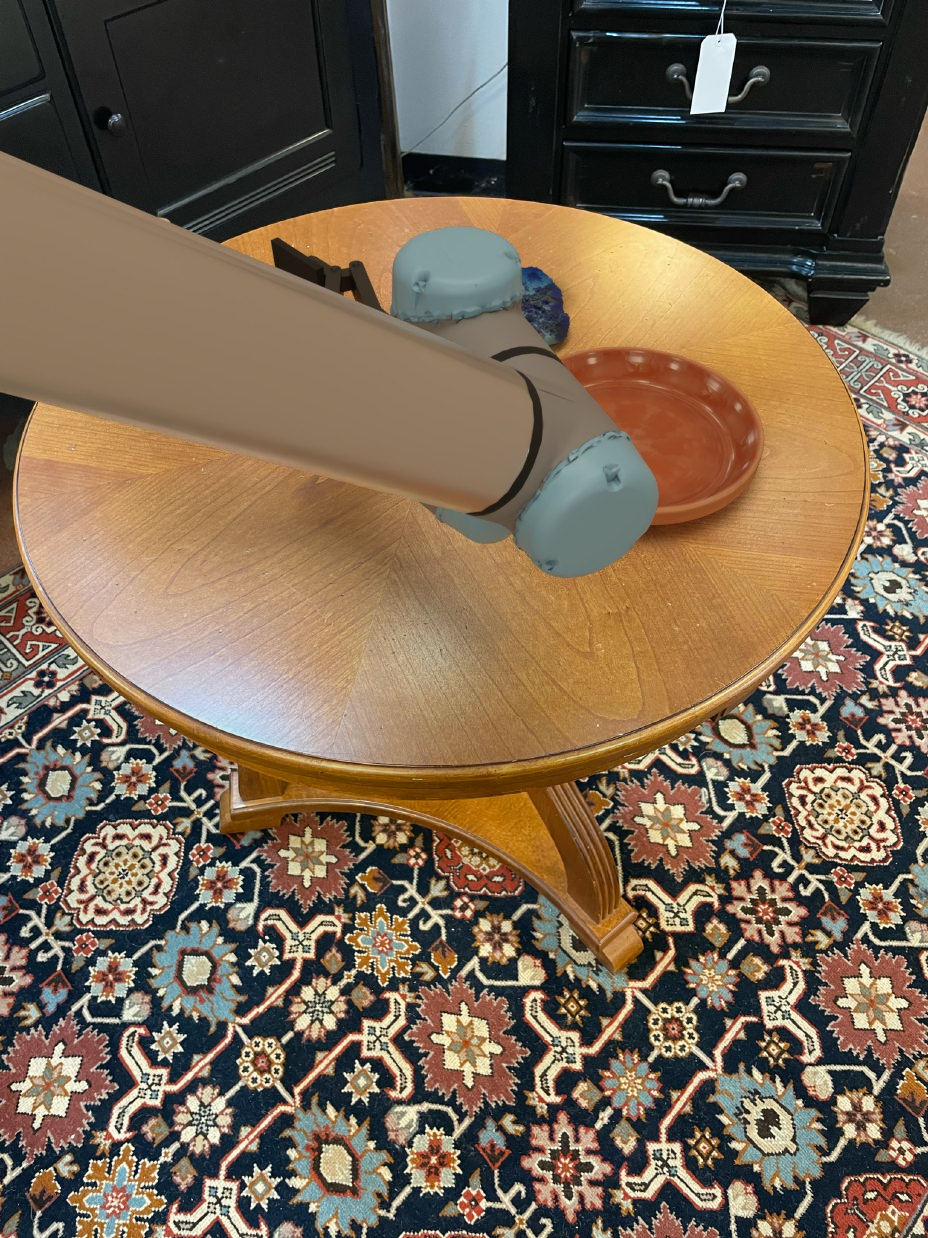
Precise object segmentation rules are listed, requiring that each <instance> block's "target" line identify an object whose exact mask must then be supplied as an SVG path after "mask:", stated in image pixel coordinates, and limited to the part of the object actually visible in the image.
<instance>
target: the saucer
mask: <svg viewBox="0 0 928 1238" xmlns="http://www.w3.org/2000/svg"><path fill="white" fill-rule="evenodd" d="M558 358H559V359H560V360H561V361H562V363H563V364H564V365H565V366H566V368H567V369H568V370H569V371H570V372H571V373H572V375H573V376H574V377H575V378H576V379H577V380H578V381H579V383H580V384H581V385H582V386H583V387H584V388H585V389H586V391H587V392H588V393H589V394H590V395H591V396H592V397H593V399H594V400H595V401H596V402H597V403H598V404H599V405H600V407H601V408H602V409H603V410H604V411H605V412H606V413H607V415H608V416H609V417H610V418H611V419H612V420H613V421H614V423H615V424H616V425H617V426H618V427H619V428H620V430H621V431H624V432H626V433H627V434H628V435H629V436H630V439H631V440H632V441H633V445H634V447H635V448H636V450H637V451H638V452H639V454H640V455H641V457H642V458H643V460H644V461H645V463H646V464H647V465H648V467H649V468H650V470H651V471H652V473H653V475H654V477H655V479H656V482H657V485H658V494H659V497H658V505H657V509H656V513H655V516H654V518H653V520H652V522H651V524H650V526H661V525H662V526H663V525H664V526H665V525H673V524H674V525H675V524H680V523H686V522H689V521H695V520H698V519H700V518H704V517H706V516H709V515H711V514H714V513H716V512H718V511H720V510H721V509H724V508H725V507H727V506H728V505H730V504H731V503H733V502H734V501H735V500H736V499H737V498H739V496H741V494H742V493H744V491H745V490H746V489H747V488H748V487H749V485H750V484H751V482H752V481H753V479H754V477H755V475H756V472H757V471H758V468H759V465H760V463H761V460H762V457H763V453H764V451H765V439H766V438H765V430H764V426H763V422H762V419H761V416H760V414H759V412H758V409H756V407H755V405H754V404H753V402H752V401H751V399H750V398H749V397H748V395H746V393H744V391H743V390H742V389H741V388H740V387H739V386H737V385H736V384H735V383H734V382H733V381H731V380H730V379H729V378H727V377H726V376H724V375H723V374H722V373H720V372H718V371H717V370H715V369H713V368H711V367H709V366H708V365H705V364H703V363H701V362H699V361H696V360H695V359H692V358H689V357H686V356H683V355H679V354H677V353H672V352H669V351H664V350H659V349H653V348H647V347H637V346H605V347H604V346H603V347H595V348H589V349H585V350H584V349H583V350H579V351H576V352H571V353H568V354H566V355H562V356H560V357H558Z"/></svg>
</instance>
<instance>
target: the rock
mask: <svg viewBox="0 0 928 1238" xmlns="http://www.w3.org/2000/svg"><path fill="white" fill-rule="evenodd" d="M521 267H522V285H523V286H524V288H525V292H524V295H523V296H522V301H521V309H522V313H523V315H524V317H525V318H526V320H527V321H528V322H529V323H530V324H531V325H532V326H533V327H534V329H535V330H536V331H537V332H538V333H539V335H540V336H541V337H542V338H543V340H544V341H545V342H546V343H547V344H548V346H552V345H555V344H560V343H563V342H564V340H565V339H567V338H568V333H569V329H570V324H571V322H570V321H571V317H570V315H569V313H567V312H565V311H564V303H565V302H564V300H563V297H564V295H563V293H562V289H561V288H560V287H559V286H558V285H557V284H556V283H555V282H554V279H553V278H552V277H550V276H549V275H548V274H547V273H545V272H544V271H543V270H542V269H541V268H539V267H537V266H532V265H531V266H526V267H524V266H521Z"/></svg>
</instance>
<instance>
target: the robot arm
mask: <svg viewBox="0 0 928 1238" xmlns="http://www.w3.org/2000/svg"><path fill="white" fill-rule="evenodd" d="M160 218H161V217H158V216H155V215H153V214H151V213H148V212H146V211H144V210H141V209H139V208H137V207H134V206H132V205H129V204H127V203H125V202H122V201H120V200H117V199H115V198H113V197H110V196H108V195H106V194H103V193H101V192H98V191H96V190H94V189H92V188H89V187H86V186H84V185H82V184H80V183H77V182H75V181H73V180H70V179H69V178H68V179H67V178H65V177H63V176H61V175H58V174H56V173H53V172H51V171H49V170H46V169H44V168H42V167H40V166H37V165H35V164H32V163H30V162H27V161H25V160H24V159H23V160H22V159H21V158H18V157H16V156H13V155H11V154H9V153H6V152H3V151H2V150H0V393H1V394H6V395H11V396H14V397H17V398H22V399H25V400H29V401H33V402H36V403H41V404H44V405H49V406H52V407H55V408H59V409H63V410H67V411H71V412H74V413H78V414H82V415H87V416H90V417H95V418H96V419H97V418H98V419H101V420H104V421H105V420H106V421H109V422H113V423H116V424H121V425H124V426H129V427H132V428H136V429H139V430H143V431H148V432H150V433H155V434H159V435H162V436H167V437H171V438H174V439H178V440H182V441H185V442H189V443H193V444H197V445H201V446H205V447H208V448H212V449H216V450H220V451H223V452H228V453H231V454H235V455H239V456H242V457H246V458H250V459H254V460H257V461H262V462H265V463H269V464H273V465H276V466H280V467H285V468H288V469H292V470H296V471H299V472H304V473H307V474H310V475H311V474H312V475H315V476H318V477H322V478H326V479H331V480H335V481H338V482H341V483H346V484H350V485H353V486H357V487H361V488H365V489H369V490H372V491H377V492H380V493H383V494H387V495H391V496H395V497H400V498H404V499H407V500H410V501H415V502H418V503H419V504H420V505H422V506H423V507H424V508H425V509H426V510H428V511H429V512H430V513H431V514H433V515H434V516H435V518H436V520H437V521H439V522H440V523H442V524H446V525H447V526H448V527H451V528H452V529H453V530H455V531H456V532H458V533H459V534H461V535H463V537H465V538H467V539H469V540H471V541H472V542H474V543H477V544H480V545H490V544H496V543H498V542H501V541H504V540H506V539H507V538H508V537H509V536H511V535H512V541H513V543H514V544H515V545H514V546H515V547H516V549H518V550H520V551H522V552H524V553H525V554H526V555H527V557H528V558H529V559H530V561H531V562H532V563H533V564H534V565H535V566H536V567H537V568H538V569H539V570H541V572H543V573H545V574H546V575H549V576H551V577H555V578H560V579H574V578H581V577H586V576H589V575H592V574H595V573H597V572H600V571H602V570H604V569H606V568H608V567H609V566H611V565H613V564H615V563H616V562H617V561H619V560H620V559H622V558H623V557H624V556H626V555H627V553H629V552H630V551H631V550H632V549H633V548H634V545H635V544H636V543H637V542H638V540H639V539H640V538H641V537H642V536H643V535H644V534H645V533H646V532H647V531H648V529H649V528H650V526H651V525H650V524H651V522H652V520H653V518H654V516H655V513H656V509H657V505H658V497H659V494H658V485H657V482H656V479H655V477H654V475H653V473H652V471H651V470H650V468H649V467H648V465H647V464H646V463H645V461H644V460H643V458H642V457H641V455H640V454H639V452H638V451H637V450H636V448H635V447H634V445H633V441H632V440H631V439H630V436H629V435H628V434H627V433H626V432H624V431H621V430H620V428H619V427H618V426H617V425H616V424H615V423H614V421H613V420H612V419H611V418H610V417H609V416H608V415H607V413H606V412H605V411H604V410H603V409H602V408H601V407H600V405H599V404H598V403H597V402H596V401H595V400H594V399H593V397H592V396H591V395H590V394H589V393H588V392H587V391H586V389H585V388H584V387H583V386H582V385H581V384H580V383H579V381H578V380H577V379H576V378H575V377H574V376H573V375H572V373H571V372H570V371H569V370H568V369H567V368H566V366H565V365H564V364H563V363H562V361H561V360H560V359H559V358H560V357H559V356H558V355H557V354H556V353H555V351H554V350H553V349H552V348H551V346H550V345H548V344H547V343H546V342H545V341H544V340H543V338H542V337H541V336H540V335H539V333H538V332H537V331H536V330H535V329H534V327H533V326H532V325H531V324H530V323H529V322H528V321H527V320H526V318H525V317H524V315H523V313H522V309H521V301H522V296H523V295H524V292H525V288H524V286H523V285H522V267H523V266H522V259H521V256H520V253H519V251H518V250H517V248H516V247H515V246H514V244H512V243H511V242H510V241H509V240H508V239H507V238H505V237H504V236H502V235H500V234H498V233H496V232H494V231H492V230H488V229H484V228H480V227H475V226H465V225H454V226H452V225H451V226H445V227H441V228H436V229H432V230H427V231H424V232H421V233H418V234H417V235H416V236H414V237H412V238H410V239H409V240H407V241H406V242H405V243H404V244H403V245H402V246H401V247H400V249H399V250H398V251H397V253H396V254H395V257H394V259H393V261H392V262H393V263H392V266H391V267H392V268H391V305H390V307H389V313H388V312H387V311H386V310H385V309H384V308H383V307H382V306H381V304H380V301H379V298H378V296H377V294H376V292H375V289H374V287H373V285H372V281H371V279H370V277H369V274H368V272H367V269H366V268H365V267H366V266H365V264H364V263H363V261H361V260H352V261H350V262H349V263H348V267H345V268H342V267H341V266H340V265H335V264H334V265H330V264H329V263H327V262H326V261H324V260H323V259H321V258H319V257H318V256H315V255H306V254H305V253H304V252H302V251H300V250H299V249H297V248H296V247H294V246H292V244H289V243H288V242H286V241H284V240H283V239H282V238H280V237H279V236H277V237H275V238H272V239H270V245H271V252H272V258H273V265H272V264H270V263H267V262H265V261H262V260H260V259H258V258H255V257H253V256H250V255H248V254H245V253H243V252H241V251H238V250H236V249H234V248H231V247H229V246H227V245H224V244H221V243H219V242H217V241H214V240H212V239H209V238H207V237H205V236H204V235H201V234H198V233H195V232H193V231H191V230H189V229H186V228H183V227H182V226H179V225H177V224H174V223H172V222H171V221H170V222H167V221H165V220H163V219H160ZM347 292H351V294H352V297H353V299H352V298H350V297H347V296H346V295H345V293H347Z"/></svg>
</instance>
